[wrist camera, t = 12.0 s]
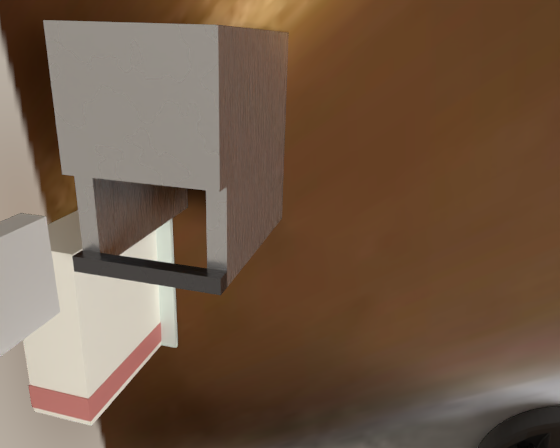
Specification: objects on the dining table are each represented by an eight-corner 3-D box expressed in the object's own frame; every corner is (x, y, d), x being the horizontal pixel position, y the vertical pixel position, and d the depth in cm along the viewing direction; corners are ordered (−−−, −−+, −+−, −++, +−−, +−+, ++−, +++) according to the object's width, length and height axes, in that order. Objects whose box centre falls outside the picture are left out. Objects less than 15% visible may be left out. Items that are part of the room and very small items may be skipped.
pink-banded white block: (161, 345, 47) (91, 427, 37) (113, 335, 48) (32, 412, 38) (155, 205, 42) (72, 255, 32) (102, 198, 43) (5, 244, 33)
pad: (178, 345, 47) (176, 347, 47) (103, 331, 49) (101, 333, 48) (171, 205, 42) (169, 206, 42) (89, 195, 44) (86, 196, 44)
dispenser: (167, 28, 37) (43, 20, 25) (288, 32, 35) (218, 25, 23) (174, 205, 42) (74, 271, 30) (281, 218, 40) (220, 295, 28)
